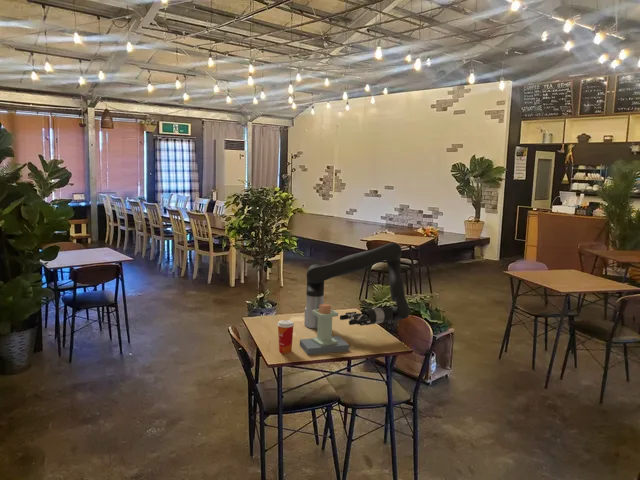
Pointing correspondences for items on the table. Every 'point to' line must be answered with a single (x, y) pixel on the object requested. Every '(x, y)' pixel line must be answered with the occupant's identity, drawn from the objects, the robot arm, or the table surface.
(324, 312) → the cube
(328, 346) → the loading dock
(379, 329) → the table surface
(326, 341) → the green pedestal
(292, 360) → the table surface
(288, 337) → the paper cup
